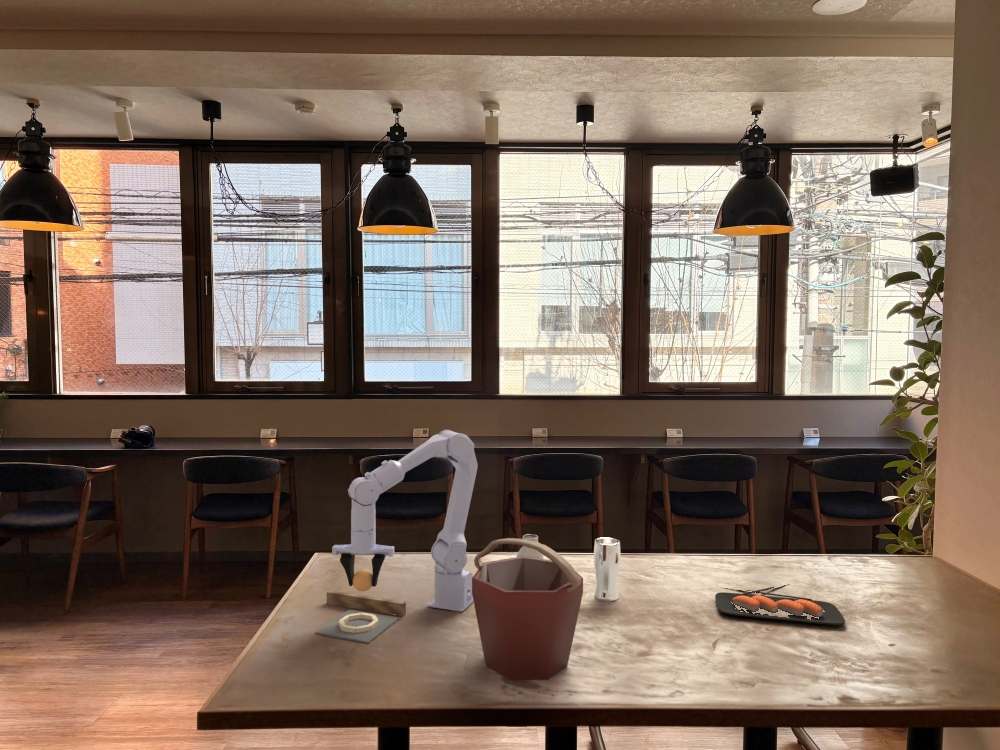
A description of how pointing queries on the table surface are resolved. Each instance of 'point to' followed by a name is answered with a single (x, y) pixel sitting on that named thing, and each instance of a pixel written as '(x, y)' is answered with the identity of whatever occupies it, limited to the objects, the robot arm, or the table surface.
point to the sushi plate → (779, 607)
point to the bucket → (526, 611)
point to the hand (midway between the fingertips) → (363, 584)
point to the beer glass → (606, 568)
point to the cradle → (357, 626)
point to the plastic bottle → (529, 551)
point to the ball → (362, 580)
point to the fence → (366, 603)
